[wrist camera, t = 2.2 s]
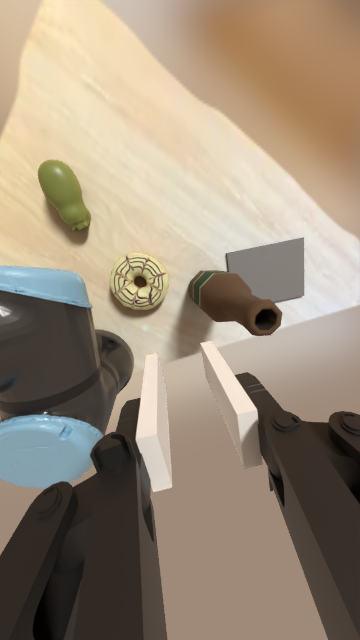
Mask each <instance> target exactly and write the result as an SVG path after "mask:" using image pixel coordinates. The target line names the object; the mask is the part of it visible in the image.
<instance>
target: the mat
mask: <svg viewBox="0 0 360 640" xmlns="http://www.w3.org/2000/svg"><path fill="white" fill-rule="evenodd" d="M226 255H227V264H228V272H231V273H235V274H238V275H239V276H240V277H241V279H242V280H243V281H244V282H245V283H246V284H247V285H248V286H249V287H250V289H251V291H252V293H251V294H252V295H254V296H256V297H258V298H260V299H262V300H263V299H270V300H271V301H272V302H277V301H282V300H286V299H291V298H295V297H300V296H304V238H299V239H294V240H289V241H284V242H279V243H275V244H270V245H265V246H260V247H255V248H250V249H245V250H240V251H236V252H231V253H226Z"/></svg>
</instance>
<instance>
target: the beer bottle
mask: <svg viewBox="0 0 360 640" xmlns="http://www.w3.org/2000/svg"><path fill="white" fill-rule="evenodd" d="M251 293H252V291H251V289H250V287H249V286H248V285H247V284H246V283H245V282H244V281H243V280H242V279H241V277H240V276H239V275H238V274H235V273H231V272H224V271H200V272H199V273H198V274H197V275H196V276H195V277H194V278H193V279H192V280H191V281H190V296H191V298H192V299H193V300H194V301H195V302H196V303H197V304H198V306H199V307H200V308H201V309H202V310H203V311H204V312H205V313H207V314H208V315H209V316H210V317H211V318H212V319H213V320H214V321H216V322H228V321H236V322H238V323H239V324H241V325H243V326H244V327H245V328H246V329H247V330H248V331H249V332H250V333H251V334H252V335H255V336H263V335H271V334H272V333H273V332H274V331H275V330H276V329H277V328H279V327H280V325H281V318H282V312H281V311H280V310H279V308H278V307H277V306H276V305H275V304H274V303H273V302H272V301H271V300H270V299H263V300H262V299H260V298H258V297H256V296H254V295H252V294H251Z"/></svg>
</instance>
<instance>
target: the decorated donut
mask: <svg viewBox="0 0 360 640" xmlns="http://www.w3.org/2000/svg"><path fill="white" fill-rule="evenodd" d="M139 276H142V277H143V278H144V279H145V280H146V286H145V287H141V288H139V287H137V286H136V285H135V284H134V280H135V279H136V278H137V277H139ZM168 286H169V283H168V273H167V272H166V270H165V269H164V267H163V266H162V265H161V264H160V263H159V262H158V261H157V260H156V259H154V258H153V257H151V256H148V255H146V254H142V253H131V254H128V255H126V256H123V257H122V258H120V259H119V260H118V261H117V262H116V263H115V265H114V267H113V270H112V273H111V277H110V288H111V290H112V292H113V294H114V296H115V297H116V298H117V299H118V300H119V301H120V302H121V303H122V305H123V306H125V307H130V308H132V309H133V310H138V309H141V310H148V309H152V308H153V307H155V306H156V305H158V304H159V303H160V302H161V301H162V300H163V298H164V297H165V295H166V293H167V290H168Z"/></svg>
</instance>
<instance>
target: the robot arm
mask: <svg viewBox="0 0 360 640" xmlns="http://www.w3.org/2000/svg"><path fill="white" fill-rule="evenodd" d="M91 308H92V305H91V304H90V303H89V299H88V295H87V291H86V287H85V283H84V281H83V279H82V278H81V277H80V276H79V275H78V274H76V273H74V272H72V271H68V270H60V269H49V268H35V267H18V266H0V417H1V420H0V479H2V480H4V481H6V482H8V483H11V484H14V485H19V486H23V487H27V488H46V489H45V490H44V491H43V492H42V493H41V494H40V495H38V497H36V499H35V500H34V501H33V503H32V504H31V505H30V507H29V508H28V510H27V512H26V513H25V515H24V517H23V518H22V520H21V522H20V523H19V525H18V527H17V528H16V530H15V532H14V533H13V535H12V537H11V539H10V540H9V542H8V544H7V545H6V547H5V549H4V551H3V552H2V554H1V555H0V640H167V633H166V623H165V614H164V604H163V596H162V586H161V577H160V567H159V558H158V549H157V539H156V530H155V520H154V511H153V505H152V502H151V499H150V487H151V486H152V489H153V492H156V491H160V490H164V489H168V488H172V472H171V456H170V440H169V424H168V408H167V392H166V384H165V380H164V376H163V373H162V368H161V364H160V360H159V356H158V353H154V354H149V355H146V362H145V370H144V378H143V386H142V394H141V398H138V399H133V400H130V401H127V402H126V403H125V405H124V406H123V407H122V409H121V413H120V417H119V418H120V419H119V421H118V426H117V429H116V432H111V433H109V434H107V435H105V431H106V428H107V425H108V422H109V419H110V415H111V412H112V409H113V405H114V402H115V399H116V395H117V394H118V393H119V392H120V391H121V390H122V389H123V388H124V387H125V386H126V385H127V383H128V382H129V380H130V378H131V375H132V372H133V367H134V358H133V354H132V352H131V349H130V348H129V346H128V345H127V343H126V342H125V341H124V340H123V339H121V338H120V337H119V336H117V335H115V334H113V333H111V332H108V331H104V330H95V328H94V323H93V317H92V311H91ZM200 345H201V351H202V356H203V362H204V367H205V373H206V378H207V380H208V383H209V385H210V387H211V390H212V392H213V395H214V397H215V399H216V402H217V404H218V407H219V409H220V412H221V414H222V417H223V419H224V421H225V423H226V426H227V428H228V431H229V433H230V436H231V438H232V441H233V443H234V445H235V448H236V450H237V453H238V455H239V457H240V460H241V462H242V465H243V467H244V469H246V468H250V467H254V466H258V465H261V464H262V456H263V458H264V460H265V462H266V464H267V466H268V475H269V486H270V491H273V489H274V492H275V494H276V497H277V500H278V502H279V505H280V508H281V511H282V514H283V516H284V519H285V522H286V525H287V527H288V530H289V533H290V536H291V538H292V541H293V544H294V546H295V549H296V552H297V555H298V558H299V560H300V563H301V566H302V569H303V571H304V574H305V577H306V580H307V582H308V585H309V588H310V590H311V593H312V596H313V599H314V601H315V604H316V607H317V610H318V613H319V615H320V618H321V621H322V624H323V626H324V629H325V632H326V635H327V637H328V640H360V415H358V414H355V413H352V412H344V411H342V412H335V413H333V414H332V415H331V416H330V418H329V423H323V422H305V421H302V420H301V419H300V418H299V417H298V416H296V415H294V414H292V413H290V412H287V411H284V410H283V409H282V408H281V407H280V405H279V404H278V403H277V402H276V401H275V400H274V398H273V397H272V396H271V395H270V394H269V392H268V391H267V390H266V389H265V388H264V386H263V385H262V384H260V382H259V380H258V379H257V378H256V377H255V376H253V375H251V374H249V373H247V372H246V373H242V374H238V375H234V374H233V373H232V371H231V370H230V368H229V367H228V365H227V364H226V362H225V361H224V359H223V358H222V356H221V355H220V353H219V352H218V350H217V349H216V347H215V346H214V344H213V343H212V341H207V342H203V343H200ZM104 435H105V436H104ZM93 464H94V466H95V468H96V471H97V473H96V474H95V475H93V476H92V477H90V478H89V479H87V480H85V481H83V482H82V483H80V484H78V485H76V486H74V487H72V485H70V484H69V483H71V482H73V481H75V480H77V479H78V478H80V477H81V476H82V475H83V474H84V473H85V472H87V471H88V470H89V469H90V468H91V467H92V465H93Z"/></svg>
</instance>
